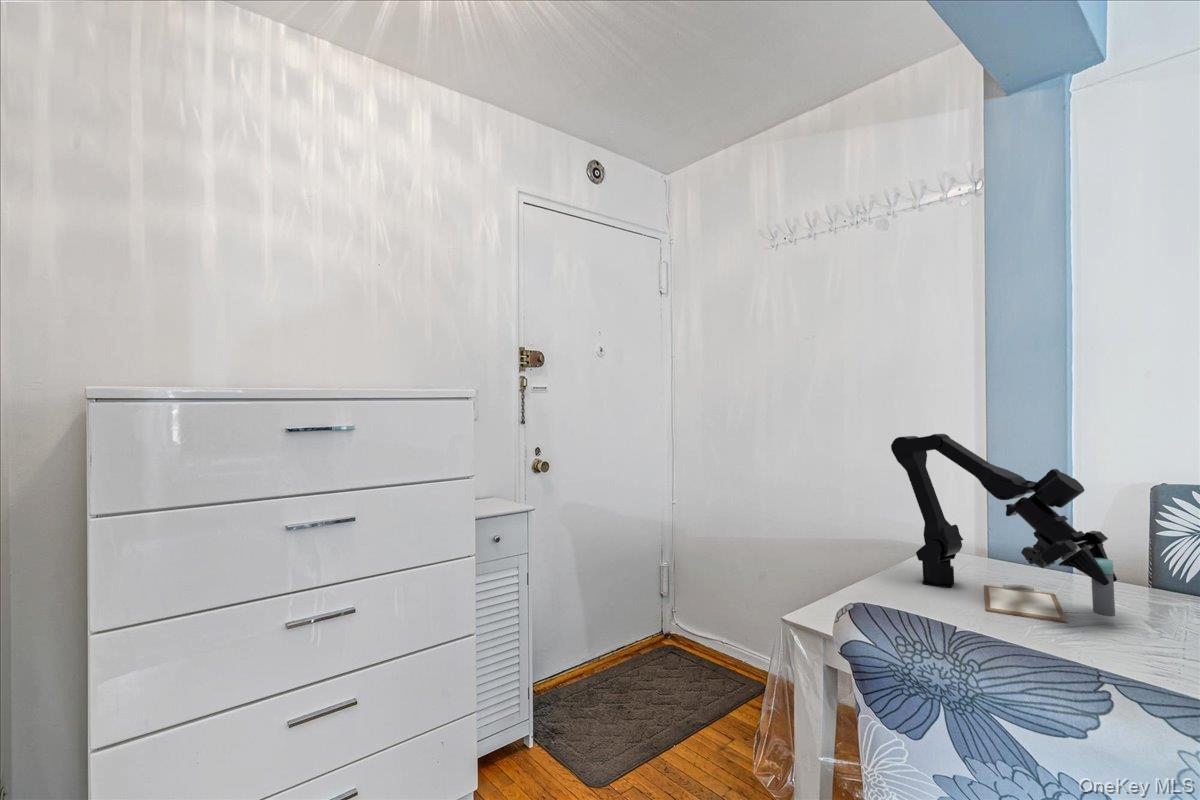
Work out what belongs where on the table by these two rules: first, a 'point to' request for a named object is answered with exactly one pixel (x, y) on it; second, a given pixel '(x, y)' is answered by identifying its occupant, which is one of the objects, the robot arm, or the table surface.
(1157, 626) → the table surface
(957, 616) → the table surface
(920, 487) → the robot arm
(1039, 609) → the clipboard
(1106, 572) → the marker
